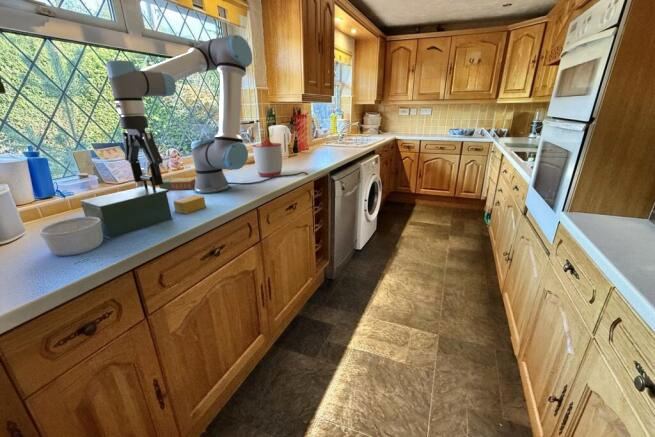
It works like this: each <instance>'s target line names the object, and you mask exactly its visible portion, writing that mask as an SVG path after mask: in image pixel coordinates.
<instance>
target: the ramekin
mask: <svg viewBox="0 0 655 437" xmlns="http://www.w3.org/2000/svg"><path fill="white" fill-rule="evenodd" d="M101 225H102V222H101V219H100V218H98V217H85V216H82V217H81V216H80V217H73V218H67V219H63V220H59V221H55V222H53V223H50V224H48V225H46V226H44V227H42V228H41V229H40V230H39V236H40V237H41V238H42V239H43V241H44V243H45V244H46V246H47V248H48V249H49V251H50V252H51V253H52V254H54V255H56V256H59V257H65V256H67V257H68V256H74V255H79V254H84V253H86V252H90V251H92V250H95V249H96V248H98V247H100V246H101V244H102V243H103V241H104V237H103V232H102V227H101Z"/></svg>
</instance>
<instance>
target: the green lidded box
mask: <svg viewBox="0 0 655 437" xmlns="http://www.w3.org/2000/svg"><path fill="white" fill-rule="evenodd" d="M167 193H168V192H167ZM167 193H163V194H159V195H155V196H151V197H147V198H143V199H139V200H135V201H131V202H127V203H123V204H119V205H115V206H111V207H107V208H103V209H99V208H96V207H93V206H89V205H86V204H83V203H81V202H80V204H81V207H82V211H83V214H84V217H98V218H100V219H101V222H102V225H101V227H102V232H103V238H106V239H107V240H108V239H109V240H112V239H115V238H120V237H121V236H124V235H127V234H130V233H133V232H137V231H140V230H143V229H146V228H149V227H153V226H155V225H158V224H161V223H164V222H167V221H170V220H173V217H172V212H171V208H170V203H169V199H168V194H167Z"/></svg>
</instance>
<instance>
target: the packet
mask: <svg viewBox="0 0 655 437" xmlns="http://www.w3.org/2000/svg"><path fill="white" fill-rule="evenodd" d="M172 202H173V206H174V212H176V213H181V214H184V215H185V214H188V213H191V212H194V211H197V210H200V209H203V208H206V207H207V206H206V201H205V197H204V196H202V195H196V194H195V195H190V196H186V197H183V198H180V199H176V200H173V201H172Z"/></svg>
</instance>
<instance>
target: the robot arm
mask: <svg viewBox="0 0 655 437" xmlns="http://www.w3.org/2000/svg"><path fill="white" fill-rule="evenodd" d="M252 63H253V51H252V48H251V46H250V44H249V42H248V41H247V40H246V39H245V37H243V36H242V35H240V34H229V35H227V36H222V37H216V38H211V39H208V40H206V41H204V42H202V43H201V44H197V45H196V46H194V47H190V48H189V49H188V51H187V52H186V53H183V54H180V55H177V56H174V57H172V58H169V59H166V60H164V61H161V62H159V63H156V64H152V65H151V66H148V67H144V68H142V69H137V68H136V65H135V63H134V62H133V61H129V60H123V59H122V60H120V59H118V60H117V59H115V60H114V59H113V60H108V61H107V62H106V64H105V67H106V72H107V78H108V80H109V84H110V88H111V92H112V95H113V100H114V108H116V111H117V114H118V116H119V118H118V119H119V124H120V127H121V129H123V130H127V131H125V132H124V131H123V132H122V133H121V134H122V138H123V147H124V148H123V149H124V160H125V161H126V162H127V161H128V163H129V164H130V165H129V166H130V168H131V172H132V176H133V181H134V183H135V182H140V181H143V180H142V179H141V178H140V176H141V175H142V171H141V168H142V167H141V163H140V159H139V154H140V153H139V152H140V149H141V150H142V152H143V154H144V155H145V157H146V159H147V161H148V162H149V164H148V167H149V169H150V175H151V176H152V179H153V183H154V186H155V187H156V186H159V185H161V184H163V180H164V179H163V177H162V172H161V167H160V165H161V164H163V163H164V160H163V158H162V156H161V154H160V151H159V149H158V147H157V144H156V141H155V140H154V134H153V132H151V131H149V132H147V131H146V129H148V128H149V121H148V118H147V116H146V115H145V114H146V108H145V104H144V100H143V98H151V97H164V98H165V97H172V96H174V94H175V93H176V90H177V85H176V82H178V81H180V80H183V79H185V78H187V77H190V76H192V75H194V74H196V73H200V74H203V73H207V72H209V71H217V72H218V73H219V74H220V80H219V81H220V82H219V110H218V111H219V112H218V133H217V134H216V135H214V137H213V138H206V139H200V140H194V141H192V142H191V144H190V146H191V147H190V148H191V154H192V159H193V164H194V169H195V177H196V179H195V188H194V192H195V193H196V194H197V193H198V194H212V193H213V194H214V193H219V192H223V191H226V190H229V189H230V185H254V184H255V185H256V184H260V183H264V182H266V181H270V180H273V179H277V178H282V177H293V176H298V175H301V174H305V175H309V173H308V172H306V171H299V172H297V173H292V174H282V175H281V174H280V175H278V176H272V177H267V178H265V179H263V180H259V181H252V182H228V180H227V177H226V176H225V173H224V171H223V170H228V171H234V170H235V171H237V170H240V169H243V167H244V166H245V165H246V164H247V161H248V159H249V151H248V149H247V145H245V144H244V139H243V137H242V136H241V135H240V134H241V132H240V131H241V111H242V110H241V108H242V84H243V82H242V81H243V77H245V75H246V74H247V67H249V66H251V65H252ZM314 209H315V208H314V195H312V194H311V210H312V211H311V213H312V214H311V215H312V216H311V217H312V234H313V236H315V235H316V234H315V214H314V212H315V211H314Z"/></svg>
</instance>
